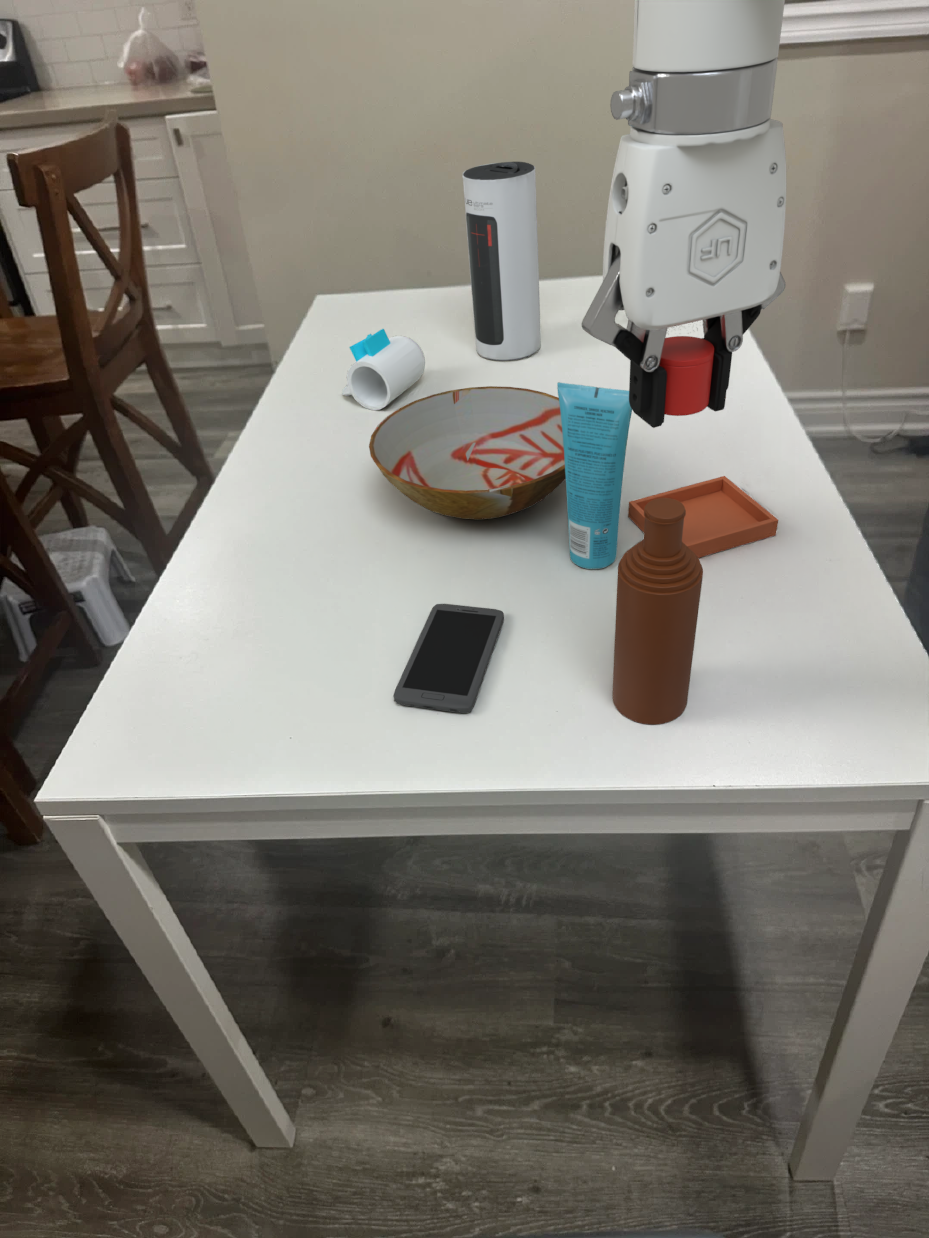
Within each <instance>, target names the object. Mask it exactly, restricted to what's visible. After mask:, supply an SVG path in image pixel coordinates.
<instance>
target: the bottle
mask: <svg viewBox="0 0 929 1238" xmlns="http://www.w3.org/2000/svg"><path fill="white" fill-rule="evenodd" d="M685 515H686V510H685V507H684V505H683V504H682V503H681V502H679V501H677V500H675V499H671V498H658V499H654V500H652V501H650V502H649V503H648V504H647V505H646V506H645V507H644V516H645V524H644V533H643V539H642V540H639V542H637V543H636V544H634V545H633V546H632V547H630V548H629V549H627V550H626V551H625V553H624V554H623V555H622V557H621V558H620V560H619V562H618V565H617V579H616V580H617V581H616V600H615V601H616V603H615V621H614V622H615V625H614V644H613V645H614V647H613V667H612V670H613V671H612V692H611V693H612V695H611V696H612V697H611V698H612V699H611V700H612V703H613V705H614V707H615V709H616V710H617V711H618V712H619V713H620V714H621V715H622V716H623V717H625V718H626V719H628V720H630V721H632V722H634V723H638V724H643V725H650V726H654V725H664V724H667V723H670V722H673V721H674V720H676V719H678V718H679V717H681V716H682V714H684V712H685V710H686V709H687V705H688V699H689V692H690V682H691V674H692V668H693V667H692V666H693V658H694V651H695V650H694V649H695V642H696V634H697V627H698V626H697V625H698V617H699V610H700V602H701V593H702V585H703V576H704V568H703V565H702V563H701V560H700V558H698V557H697V555H696V554H695V553H694V552H692V551H691V550H690V549H689V548H688V547H687V546H686V545H685V544H684V543H683V542H682V534H683V524H684V517H685Z"/></svg>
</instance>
